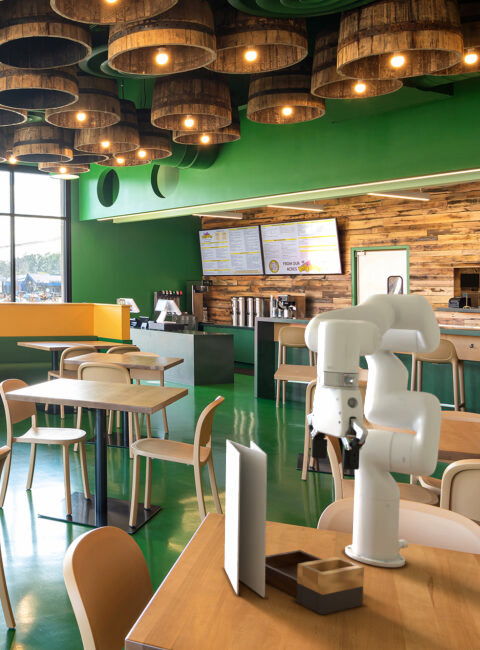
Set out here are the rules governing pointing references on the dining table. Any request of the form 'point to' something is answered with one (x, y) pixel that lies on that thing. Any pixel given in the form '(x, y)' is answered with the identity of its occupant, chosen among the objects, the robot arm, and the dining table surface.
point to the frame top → (330, 575)
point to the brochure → (245, 515)
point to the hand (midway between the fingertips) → (334, 463)
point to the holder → (285, 569)
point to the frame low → (329, 599)
